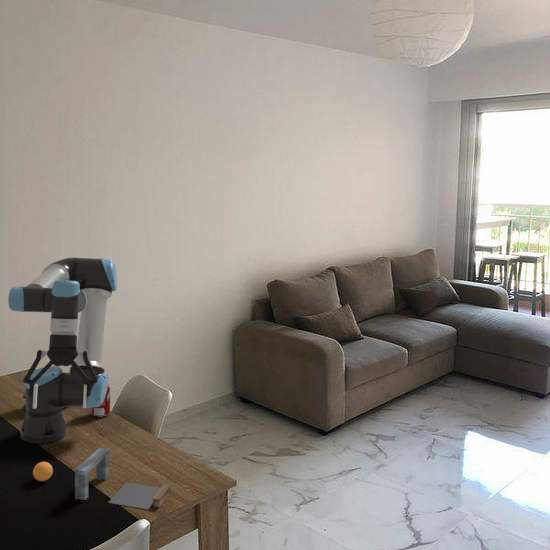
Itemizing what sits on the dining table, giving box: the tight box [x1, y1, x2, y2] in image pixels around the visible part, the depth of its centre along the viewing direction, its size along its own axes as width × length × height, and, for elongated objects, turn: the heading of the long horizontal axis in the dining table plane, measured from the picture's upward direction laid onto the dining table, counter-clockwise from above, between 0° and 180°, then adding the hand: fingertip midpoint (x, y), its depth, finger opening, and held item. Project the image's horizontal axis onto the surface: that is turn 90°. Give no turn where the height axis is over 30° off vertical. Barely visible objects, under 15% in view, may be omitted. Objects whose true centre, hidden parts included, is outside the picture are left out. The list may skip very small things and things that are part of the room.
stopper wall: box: [152, 484, 171, 508], centre depth 177 cm, size 2×8×2 cm, turn 168°
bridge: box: [74, 447, 110, 501], centre depth 180 cm, size 3×14×9 cm, turn 168°
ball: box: [32, 461, 54, 482], centre depth 184 cm, size 6×6×6 cm
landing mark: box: [107, 481, 162, 511], centre depth 178 cm, size 12×12×1 cm
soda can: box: [91, 383, 111, 418], centre depth 233 cm, size 7×7×12 cm
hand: (59, 407), depth 178 cm, fingers open, 13 cm apart
